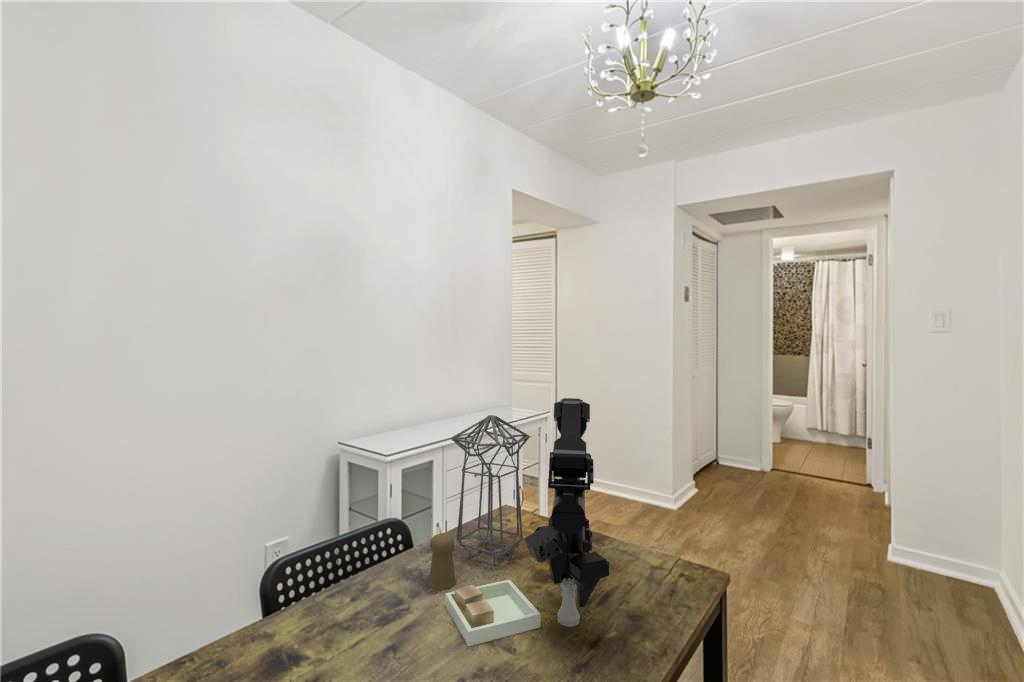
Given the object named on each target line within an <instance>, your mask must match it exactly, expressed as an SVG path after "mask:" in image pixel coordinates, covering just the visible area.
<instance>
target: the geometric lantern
mask: <svg viewBox="0 0 1024 682" xmlns="http://www.w3.org/2000/svg"><path fill="white" fill-rule="evenodd" d="M490 423H491V426H492V431H488V429H489V426H490ZM504 425H505V426H507V427H508V428H510V429H511V430H514V431H516V432H517V433H519V434H512V433H510V432H509V430H507V428H506V427H505V426H504ZM473 428H474V429H473ZM470 430H471V432H469V433H468V434H467V435H466V436H462V435H464V434H465V433H467V432H468V431H470ZM497 430H498V432H499V433H498V432H497ZM505 433H506V434H507V435H508V436H506V434H505ZM484 434H486V435H487V436H489V437H490V439H492V440H493V441H495V443H481V441H482V438H483V436H484ZM499 437H501V438H502V443H501V442H500V441H499ZM518 437H521V438H519V439H518V440H517V439H516V438H518ZM530 438H532V436H531V435H529V434H527V433H525V432H524V431H522V430H520V429H519V428H517V427H515V426H514V425H513V424H510V423H509V422H508V421H505V420H504V419H503V418H500V417H499V416H497V415H495V414H494V415H493V414H491V415H490V414H488V415H487V416H486V417H484V418H482V419H481V420H479V421H478V422H475V423H474V424H472V425H471V426H469V427H467V428H465V429H464V430H462V431H460V432H458V433H457V434H454V435H452V437H451V438H450V440H451V441H452V442H454V443H455V444H456V445H457V446H458V447H459V448H460V449H461V450H462V451H463V452H464V459H463V467H462V469H461V473H462V475H461V489H460V497H459V499H460V501H459V510H458V511H459V512H458V521H457V532H456V533H457V534H456V542H457V544H458V545H460V546H461V547H462V549H464V550H465V551H467V553H468V559H467V560H469V561H472V559H473V558H475V557H476V556H480V557H483V558H488V559H492V560H493V566H494V567H495V566H496V560H497V565H498V566H501V565H500V564H501V563H500V561H501V560H500V559H501V557H502V556H503V555H505V554H506V555H508V558H511V557H512V549H513V548H514V547H516V546H517V545H518V544H519V543H520V542H522V541H523V539H524V538H523V537H524V536H523V522H522V520H523V519H522V510H521V496H520V481H519V480H520V479H519V470H520V454H519V453H520V450H521V449H522V447H523V446H524V445H525V444H526V443H527V441H528V440H529V439H530ZM468 439H470V440H468ZM510 440H511V442H510ZM477 441H478V442H477ZM463 443H464V444H463ZM520 443H521V444H520ZM470 445H471V446H470ZM516 445H517V449H516V450H515V451H514V446H516ZM475 446H476V449H475ZM479 447H488V448H487V449H485V450H483V451H482V452H480V449H479ZM497 447H498V449H496V452H495V454H494V455H493V457H492V458H491V460H490V461H489V462H486V461H485V459H484V457H483V455H484V454H486V453H488V452H490V451H491V450H492V449H494V448H497ZM502 448H504V449H505V451H506V452H507V454H508V455H506V456H505V458H504V460H503V462H502V463H494V460H495V458H496V456H497V455H498V454H499V451H500V450H501V449H502ZM470 449H472V450H473V451H474V453H471V450H470ZM510 449H511V450H510ZM476 450H477V451H476ZM515 455H516V465H515V462H514V458H513V457H514V456H515ZM469 457H477V459H479V461H480V462H481V463H478V464H474V465H472V466H469V467H466V466H467V462H468V460H469ZM509 457H510V459H511V462H512V465H509V464H505V462H506V460H507V459H508V458H509ZM492 465H493V466H500V467H499V469H498V471H497V472H496V474H493V473H492V471H491V468H492ZM478 466H481V473H480V472H475V471H467V470H469V469H473V468H475V467H478ZM503 467H508V468H514V470H512V471H509V472H506V473H503V474H502V475H499V473H500V472H501V469H502V468H503ZM484 468H486V470H487V471H488V474H484V473H485V471H484ZM512 473H515V497H516V498H515V500H516V501H515V503H516V505H515V506H516V532H513V531H510V530H509V531H508V530H503V513H502V512H503V509H502V508H503V507H502V484H501V478H502V477H505V476H508V475H510V474H512ZM466 474H471V475H475V476H476V475H477V476H480V491H479V502H478V503H479V505H478V517H477V519H478V520H477V521H478V522H477V528H476V529H473V530H472V531H470V532H468V533H467V534H464V535H463V518H464V517H463V513H464V489H465V478H466V477H465V476H466ZM484 477H487V478H488V481H487V482H488V487H487V490H488V491H487V493H488V494H487V495H488V496H487V527H481V517H482V516H481V515H482V503H483V502H482V499H483V484H484V483H483V482H484ZM494 478H497V481H498V482H497V483H498V486H497V487H498V505H499V509H498V511H499V528H493V520H494V519H493V513H494V512H493V504H494V503H493V499H494V498H493V496H494V494H493V493H494V492H493V491H494V489H493V488H494V484H493V483H494V482H493V479H494ZM481 530H482V531H483V530H487V531H486V537H485V541H484V540H483V536H482V533H481ZM493 531H495V532H499V533H500V534H499V535H500V543H498V542H493ZM477 532H478V533H479V537H480V542H479V543H478V544H476V545H474V546H473V545H470V544H466V543H463V542H462V540H464V539H465V538H467V537H469V536H471V535H473V534H474V533H477ZM503 533H504V534H508V535H513V536H515V537H514V538H513V540H512V541H511V543H510V544H508V545H507V544H504V535H503ZM488 537H489V541H488ZM517 538H518V539H517ZM483 544H484V548H483ZM488 544H489V548H488V547H487V545H488ZM493 545H494V546H495V545H497V546H500V549H493ZM479 546H480V547H479ZM468 548H470V550H469V549H468ZM475 550H476V551H477V552H472V551H475ZM480 552H483V553H487V554H491V556H489V555H486V554H481V553H480ZM494 554H499V555H498V556H497V557H496V556H495V555H494Z"/></svg>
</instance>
